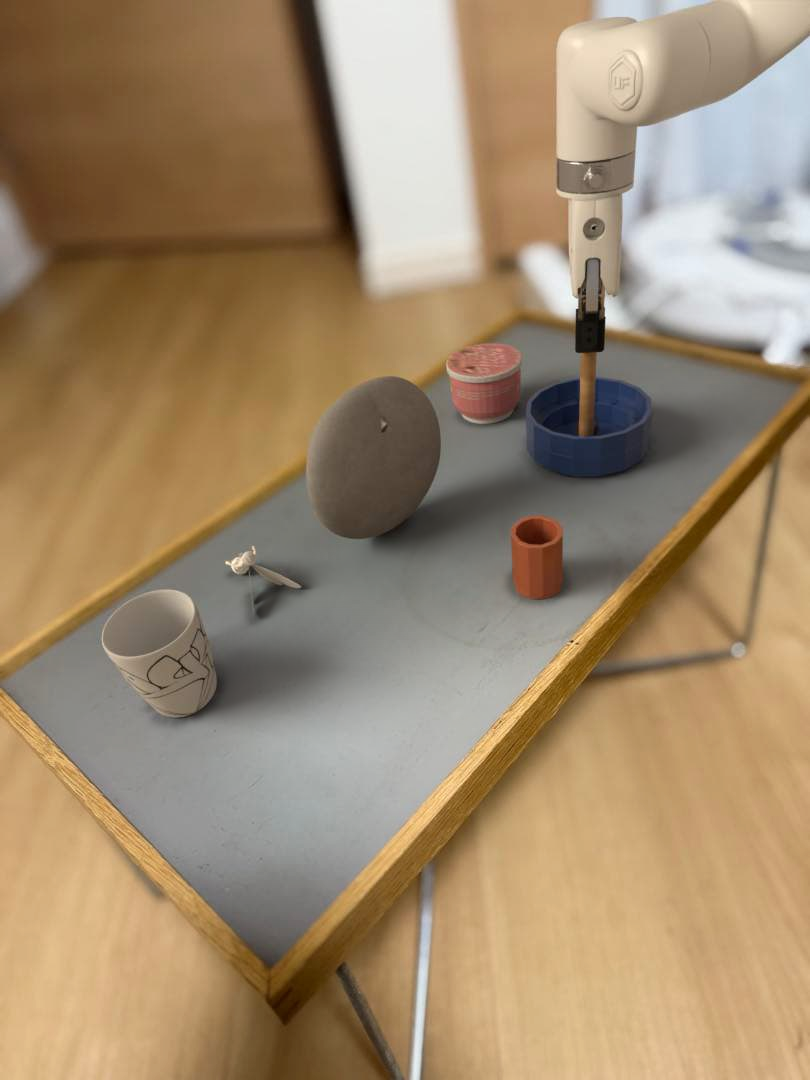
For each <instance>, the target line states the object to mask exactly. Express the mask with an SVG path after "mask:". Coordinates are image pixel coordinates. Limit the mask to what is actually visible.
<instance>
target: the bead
mask: <svg viewBox="0 0 810 1080" xmlns="http://www.w3.org/2000/svg"><path fill="white" fill-rule="evenodd" d="M598 432H599V423H598V422H597V420H596V419H594V433H593V436H597V434H598ZM576 433H577V435H578V436H579V421H578V422H577V424H576Z"/></svg>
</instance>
